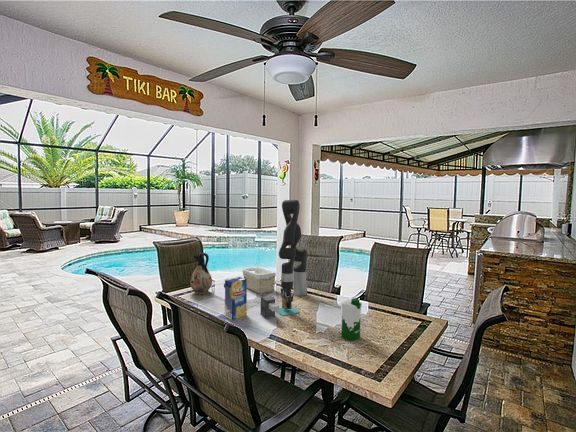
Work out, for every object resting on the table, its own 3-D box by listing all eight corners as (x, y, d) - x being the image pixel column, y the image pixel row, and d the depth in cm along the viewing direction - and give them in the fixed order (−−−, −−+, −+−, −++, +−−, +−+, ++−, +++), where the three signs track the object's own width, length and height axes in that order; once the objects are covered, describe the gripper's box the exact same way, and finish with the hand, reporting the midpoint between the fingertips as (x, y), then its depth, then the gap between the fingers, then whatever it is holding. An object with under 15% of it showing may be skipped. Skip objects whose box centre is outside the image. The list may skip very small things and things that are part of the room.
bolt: (267, 301, 201) (267, 297, 201) (279, 310, 187) (279, 305, 187) (261, 302, 199) (261, 298, 199) (272, 311, 185) (272, 307, 185)
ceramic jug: (186, 294, 235) (185, 253, 233) (197, 288, 249) (197, 249, 247) (207, 297, 230) (206, 254, 228) (217, 290, 244) (217, 251, 242)
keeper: (270, 312, 201) (270, 295, 200) (275, 316, 195) (275, 299, 194) (260, 314, 198) (260, 297, 197) (265, 318, 192) (265, 300, 191)
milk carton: (354, 342, 162) (355, 303, 160) (338, 337, 167) (339, 299, 166) (362, 336, 168) (363, 298, 167) (347, 331, 174) (347, 295, 173)
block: (288, 306, 207) (288, 297, 206) (291, 308, 203) (291, 299, 202) (282, 307, 205) (282, 298, 204) (285, 309, 201) (285, 300, 200)
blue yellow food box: (246, 314, 197) (246, 278, 195) (232, 319, 189) (232, 282, 187) (239, 312, 201) (239, 276, 200) (224, 316, 193) (224, 280, 192)
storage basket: (276, 291, 246) (276, 271, 245) (258, 294, 236) (258, 274, 235) (259, 283, 265) (259, 265, 264) (241, 287, 255) (241, 268, 254)
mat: (290, 306, 212) (290, 306, 212) (299, 312, 201) (299, 312, 201) (274, 309, 206) (274, 308, 206) (282, 316, 196) (282, 315, 196)
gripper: (298, 281, 198) (297, 309, 199) (287, 276, 211) (287, 302, 212) (286, 283, 194) (286, 311, 196) (276, 277, 207) (276, 304, 208)
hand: (286, 306), depth 204 cm, fingers closed on block, 4 cm apart
